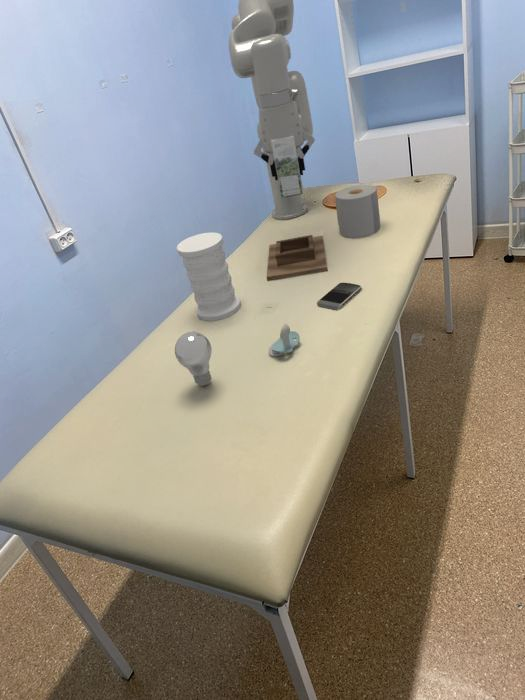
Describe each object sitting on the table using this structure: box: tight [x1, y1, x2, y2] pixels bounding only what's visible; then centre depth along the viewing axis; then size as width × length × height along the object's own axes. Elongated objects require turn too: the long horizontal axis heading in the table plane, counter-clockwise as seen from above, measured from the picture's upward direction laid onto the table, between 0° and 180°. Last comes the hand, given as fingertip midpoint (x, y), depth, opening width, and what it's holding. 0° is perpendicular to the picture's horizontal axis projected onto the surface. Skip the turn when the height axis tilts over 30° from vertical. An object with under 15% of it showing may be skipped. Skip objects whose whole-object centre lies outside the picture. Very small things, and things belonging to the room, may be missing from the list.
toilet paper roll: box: [334, 184, 381, 239], centre depth 145 cm, size 12×12×12 cm
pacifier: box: [268, 323, 301, 357], centre depth 102 cm, size 7×6×6 cm
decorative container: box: [176, 232, 242, 322], centre depth 120 cm, size 12×12×18 cm
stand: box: [266, 234, 328, 282], centre depth 139 cm, size 22×16×4 cm
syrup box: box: [271, 136, 304, 198], centre depth 125 cm, size 6×6×14 cm
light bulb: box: [174, 331, 213, 387], centre depth 96 cm, size 7×7×12 cm
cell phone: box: [316, 282, 362, 311], centre depth 117 cm, size 6×11×1 cm, turn 139°
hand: (289, 175), depth 127 cm, fingers closed on syrup box, 5 cm apart
